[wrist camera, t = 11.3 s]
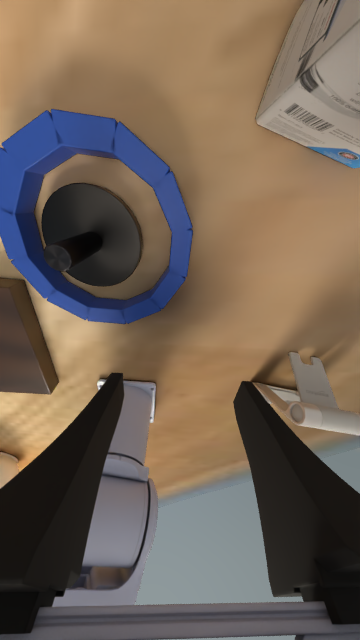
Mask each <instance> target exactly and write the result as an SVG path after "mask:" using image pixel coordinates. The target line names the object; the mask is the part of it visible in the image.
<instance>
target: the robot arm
mask: <svg viewBox="0 0 360 640" xmlns="http://www.w3.org/2000/svg"><path fill="white" fill-rule="evenodd" d="M97 386H98V392H97V393H96V395H95V396H94V397H93V398H92V400H91V401H90V402H89V403H88V405H87V406H86V407H85V408H84V409H83V411H82V412H81V413H80V414H79V415H78V416H77V417H76V419H75V420H74V421H73V422H72V423H71V424H70V425H69V426H68V427H67V428H66V429H65V430H64V431H63V432H62V433H61V434H60V435H59V437H58V438H57V439H56V440H55V441H53V442H52V443H51V444H50V445H49V446H48V447H47V448H46V449H45V450H44V451H43V452H42V453H41V454H40V455H39V456H38V457H37V458H35V459H34V460H33V461H32V462H31V463H30V464H29V465H28V466H26V467H25V468H24V469H23V470H22V471H21V472H19V473H18V474H17V475H16V476H15V477H13V478H12V479H11V480H10V481H9V482H8V483H6V484H5V485H4V486H3V487H2V488H0V640H156V639H157V640H158V639H187V638H188V639H189V638H219V637H248V636H249V637H250V636H279V635H280V636H281V635H296V637H295V640H360V494H359V493H358V492H357V491H355V490H354V489H353V488H352V487H351V486H350V485H348V484H347V483H346V482H345V481H344V480H343V479H341V478H340V477H339V476H338V475H337V474H336V473H334V472H333V471H332V470H331V469H330V468H329V467H328V466H327V465H326V464H325V463H324V462H322V461H321V460H320V459H319V458H318V457H317V456H316V455H315V454H314V453H313V452H312V451H311V450H310V449H309V448H308V447H307V446H306V445H305V444H304V443H303V442H302V441H301V440H300V439H299V438H298V437H297V436H296V435H295V434H294V432H293V431H292V430H291V429H290V428H289V427H288V426H287V425H286V424H285V422H284V421H283V420H282V419H281V418H280V416H279V415H278V414H277V413H276V412H275V410H274V409H273V408H272V407H271V406H270V404H269V403H268V402H267V401H266V399H265V398H264V397H263V395H262V394H261V393H260V392H259V390H258V389H257V388H256V387H255V385H254V384H253V383H252V382H249V381H242V382H241V385H240V387H239V389H238V392H237V394H236V397H235V399H234V401H233V403H234V409H235V414H236V420H237V423H238V427H239V430H240V434H241V437H242V440H243V444H244V447H245V450H246V454H247V457H248V461H249V464H250V468H251V473H252V478H253V482H254V487H255V493H256V497H257V503H258V508H259V514H260V520H261V526H262V532H263V539H264V546H265V553H266V560H267V567H268V575H269V582H270V586H271V590H272V594H273V596H274V597H293V596H302V597H303V601H304V602H275V603H274V602H269V603H219V604H170V605H169V604H168V605H134V604H135V602H136V598H137V593H138V590H139V588H140V584H141V579H142V575H143V571H144V567H145V563H146V560H147V557H148V555H149V553H150V550H151V547H152V544H153V540H154V536H155V530H156V524H157V515H158V496H157V491H156V488H155V485H154V482H153V480H152V479H150V478H148V473H149V468H148V467H145V466H144V463H145V455H146V447H147V439H148V431H149V423H152V422H153V421H154V408H155V392H156V384H155V383H153V382H138V381H123V373H111V374H110V375H109V377H108V378H107V380H106V379H99V380H98V382H97Z"/></svg>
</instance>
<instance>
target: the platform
mask: <svg viewBox="0 0 360 640" xmlns="http://www.w3.org/2000/svg"><path fill="white" fill-rule="evenodd" d="M58 383H59V382H58V379H57V376H56V373H55V370H54V367H53V364H52V361H51V358H50V356H49V353H48V350H47V347H46V344H45V341H44V338H43V335H42V332H41V329H40V326H39V323H38V320H37V318H36V315H35V312H34V309H33V306H32V303H31V300H30V297H29V294H28V291H27V288H26V285H25V282H24V280H16V279H5V278H0V392H15V393H33V394H51V393H52V392H53V390H54V389H55V387H56V386H57V384H58Z"/></svg>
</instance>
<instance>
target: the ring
mask: <svg viewBox="0 0 360 640" xmlns="http://www.w3.org/2000/svg"><path fill="white" fill-rule="evenodd" d="M2 146H3V147H4V148H1V147H0V236H1V239H2V242H3V245H4V247H5V250H6V253H7V256H8V258H9V259H14V260H12V261H11V263H12V264H13V265H14V266H15V267H16V268H17V269H18V270H19V271H20V273H21V274H22V275H23V276H24V277H25V278H26V279H27V280H28V281H29V282H30V284H31V285H32V286H33V287H34V288H35V289H36V290H37V291H38V292H39V293H40V294H41V296H42V297H43V298H47V297H48V299H47V301H49V302H51V303H53V304H55V305H57V306H59V307H61V308H63V309H64V310H66V311H68V312H70V313H72V314H74V315H76V316H78V317H80V318H82V319H84V320H86V319H88V321H95V322H107V323H119V324H126V322H127V323H128V324H129V323H131V322H134V321H136V320H139V319H141V318H144V317H146V316H149V315H151V314H154V313H156V312H159V311H161V309H163V308H164V307H165V305H166V304H167V303H168V302H169V300H170V299H171V298H172V296H173V295H174V294H175V293H176V291H177V290H178V289H179V287H180V286H181V285H182V284H183V282H184V281H185V280H186V278H185V277H187V273H188V265H189V258H190V250H191V243H192V235H193V230H192V224H191V221H190V218H189V215H188V213H187V210H186V207H185V204H184V202H183V199H182V196H181V193H180V191H179V188H178V185H177V182H176V180H175V177H174V174H173V172H172V171H171V172H170V167H169V166H168V165H167V164H166V163H165V162H163V161H162V160H161V159H160V158H159V157H158V156H157V155H156V154H155V153H154V152H153V151H152V150H150V149H149V148H148V147H147V146H146V145H145V144H144V143H143V142H142V141H141V140H140V139H138V138H137V137H136V136H135V135H134V134H133V133H132V132H131V131H130V130H129V129H128V128H127V127H125V126H124V125H123V124H122V123H121V122H118V123H117V121H116V120H115V119H113V118H107V117H100V116H94V115H87V114H81V113H75V112H68V111H62V110H55V109H51V113H50V112H49V111H48V110H46V111H45V112H43V113H42V114H41V115H39V116H38V117H36V118H35V119H34V120H32V121H31V122H30V123H28V124H27V125H26V126H24V127H23V128H22V129H20V130H19V131H18V132H16V133H15V134H14V135H12V136H11V137H10V138H8V139H7V140H6V141H4V142H3V143H2ZM77 153H79V154H86V155H93V156H100V157H107V158H114V159H119V160H121V161H122V162H123V163H124V164H125V165H127V166H128V167H129V168H130V169H131V170H132V171H134V172H135V173H136V174H137V175H138V176H140V177H141V178H142V179H143V180H144V181H145V182H147V183H148V184H149V185H150V186H151V187H153V189H154V191H155V194H156V196H157V198H158V201H159V203H160V205H161V208H162V210H163V212H164V215H165V217H166V220H167V222H168V224H169V227H170V229H171V231H172V238H171V250H170V263H169V266H168V268H167V269H166V271H165V272H164V273H163V275H162V276H161V278H160V279H159V281H158V282H157V283H156V285H155V286H154V288H153V289H151V290H149V291H147V292H144V293H142V294H140V295H137V296H135V297H133V298H130V299H128V300H119V299H108V298H97V297H95V296H93V295H91V294H90V293H88V292H86V291H84V290H83V289H81V288H79V287H77V286H75V285H74V284H72V283H70V282H68V281H67V280H66V279H65V277H64V276H63V275H62V274H61V272H60V271H57V270H55V269H53V268H52V267H50V266H49V265H48V264H47V262H46V261H45V258H44V250H43V246H42V242H41V238H40V235H39V231H38V227H37V223H36V219H35V215H34V209H35V205H36V202H37V198H38V195H39V191H40V188H41V184H42V181H43V177H44V175H45V174H46V173H48V172H49V171H51V170H52V169H54V168H55V167H57V166H58V165H60V164H61V163H63V162H64V161H66V160H67V159H69V158H71V157H72V156H74V155H75V154H77Z"/></svg>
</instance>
